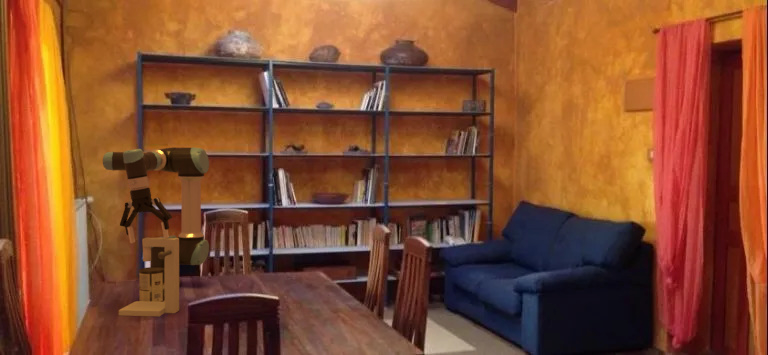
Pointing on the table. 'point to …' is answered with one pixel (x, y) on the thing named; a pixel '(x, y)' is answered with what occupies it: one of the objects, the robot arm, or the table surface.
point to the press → (170, 280)
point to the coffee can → (152, 284)
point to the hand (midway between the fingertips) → (149, 241)
